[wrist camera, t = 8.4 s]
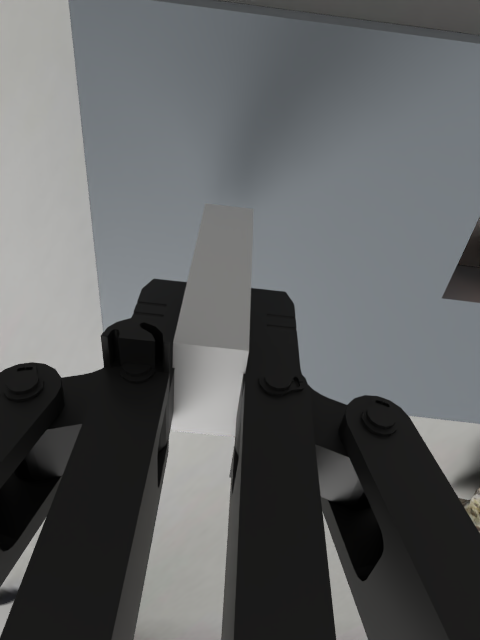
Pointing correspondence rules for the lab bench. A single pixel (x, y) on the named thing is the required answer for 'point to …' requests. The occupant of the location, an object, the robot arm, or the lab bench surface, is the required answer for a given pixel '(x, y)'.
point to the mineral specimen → (473, 508)
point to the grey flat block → (296, 178)
